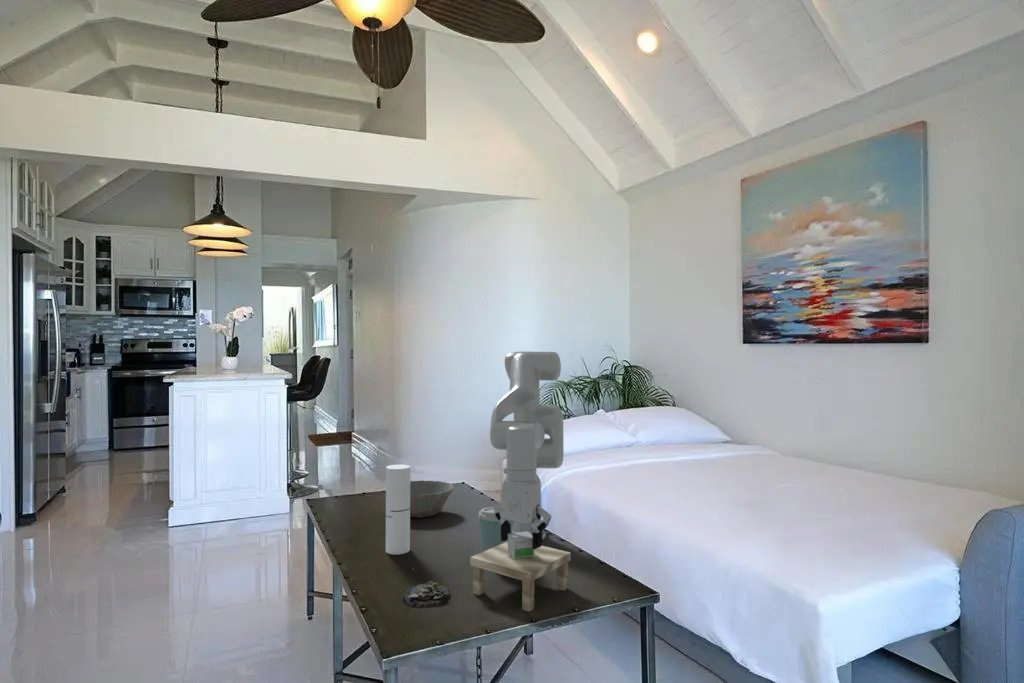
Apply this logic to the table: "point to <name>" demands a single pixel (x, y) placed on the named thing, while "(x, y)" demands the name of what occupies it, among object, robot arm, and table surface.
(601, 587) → the table surface
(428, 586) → the dark grey rock
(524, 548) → the small box
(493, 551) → the footstool
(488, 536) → the disposable coffee cup
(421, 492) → the ceramic bowl
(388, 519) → the cylindrical container
